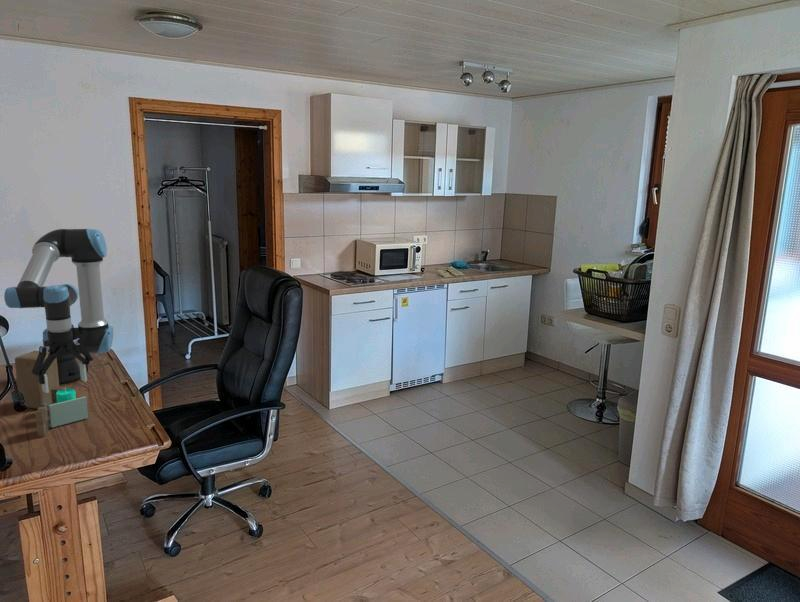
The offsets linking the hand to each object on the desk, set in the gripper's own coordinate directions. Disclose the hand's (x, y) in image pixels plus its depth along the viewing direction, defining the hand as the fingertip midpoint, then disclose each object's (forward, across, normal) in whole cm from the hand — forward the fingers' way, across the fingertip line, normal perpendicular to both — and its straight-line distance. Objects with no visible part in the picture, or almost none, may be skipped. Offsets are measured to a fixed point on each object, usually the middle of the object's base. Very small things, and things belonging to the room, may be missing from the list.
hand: (65, 386), depth 207 cm
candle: (+12, 0, +1) cm, 13 cm away
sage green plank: (+12, +2, +5) cm, 13 cm away
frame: (+12, +6, -1) cm, 13 cm away
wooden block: (+13, -1, -21) cm, 25 cm away
